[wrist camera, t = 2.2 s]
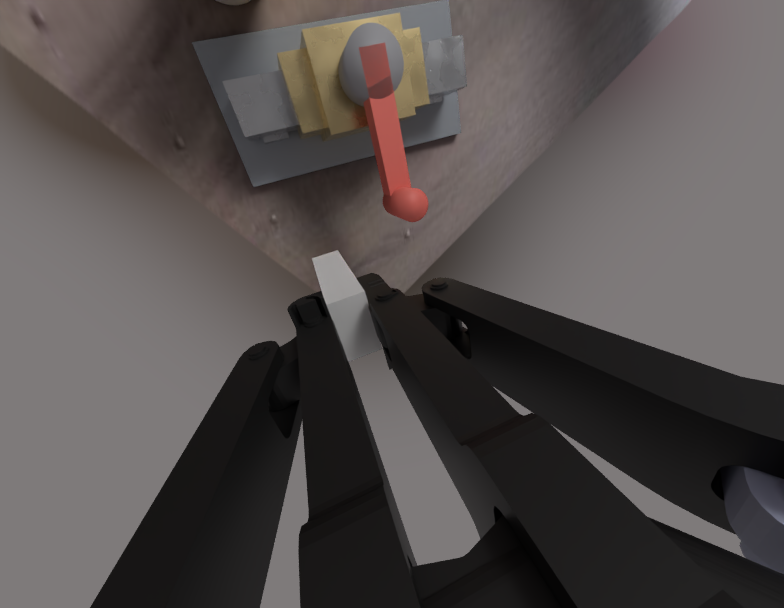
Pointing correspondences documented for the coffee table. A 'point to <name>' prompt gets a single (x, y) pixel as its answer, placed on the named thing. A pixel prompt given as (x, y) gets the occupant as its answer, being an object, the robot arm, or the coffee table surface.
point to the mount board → (312, 153)
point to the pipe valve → (323, 88)
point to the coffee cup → (233, 2)
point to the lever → (382, 112)
